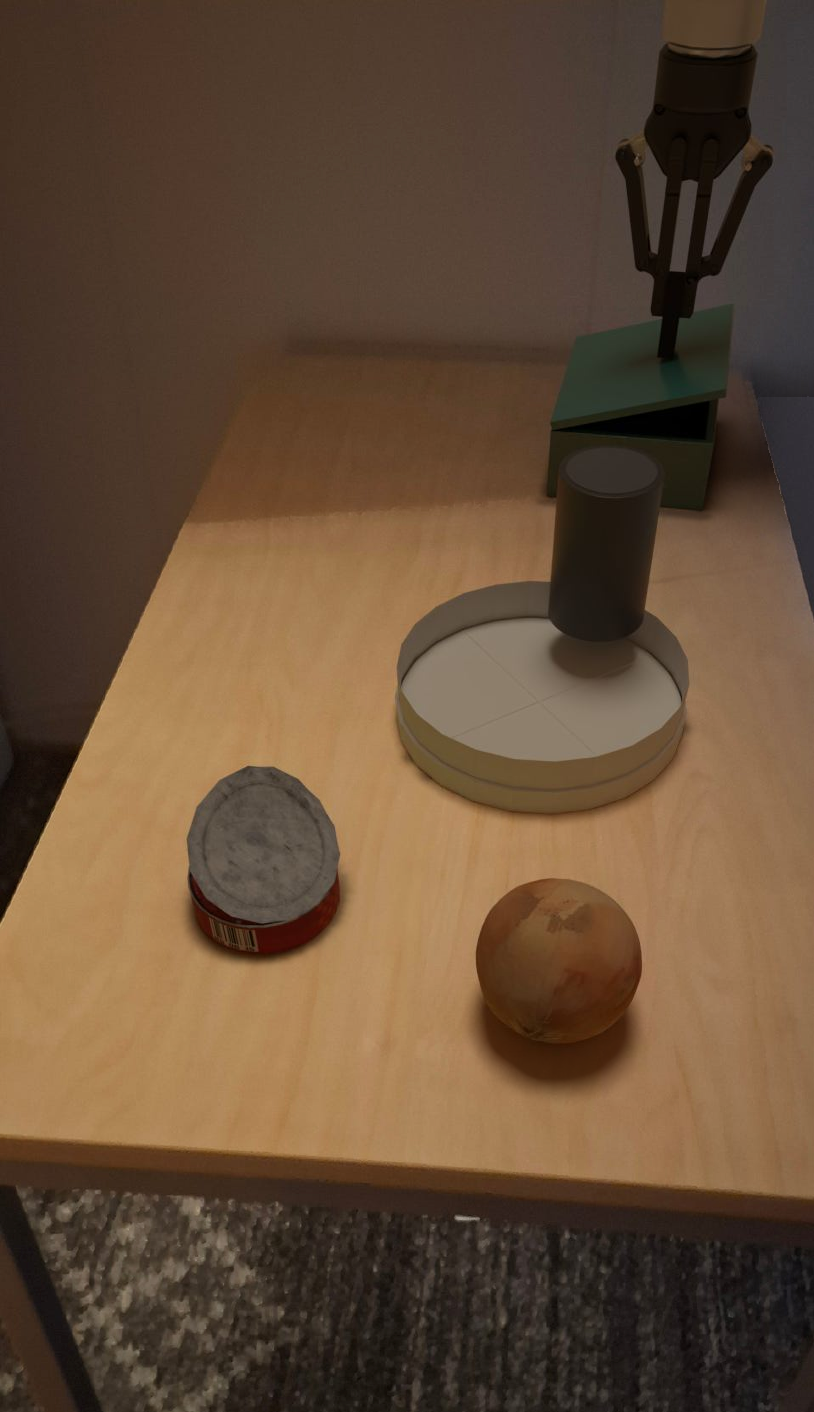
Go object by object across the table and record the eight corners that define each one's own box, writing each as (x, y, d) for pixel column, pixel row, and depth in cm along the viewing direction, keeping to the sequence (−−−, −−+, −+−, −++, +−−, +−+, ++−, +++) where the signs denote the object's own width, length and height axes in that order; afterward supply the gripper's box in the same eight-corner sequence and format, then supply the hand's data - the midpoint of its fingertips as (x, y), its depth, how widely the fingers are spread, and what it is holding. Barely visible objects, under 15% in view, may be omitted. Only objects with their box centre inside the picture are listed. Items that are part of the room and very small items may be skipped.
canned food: (326, 899, 84) (387, 810, 78) (293, 1001, 77) (356, 912, 71) (184, 829, 82) (234, 731, 76) (135, 927, 75) (186, 828, 68)
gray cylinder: (625, 580, 94) (643, 438, 85) (657, 634, 89) (680, 489, 80) (536, 594, 93) (545, 451, 84) (564, 648, 88) (577, 503, 79)
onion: (634, 954, 75) (655, 846, 67) (629, 1086, 68) (651, 983, 61) (484, 937, 76) (488, 829, 68) (464, 1065, 69) (466, 962, 62)
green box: (711, 426, 121) (723, 356, 115) (700, 518, 109) (714, 444, 103) (570, 415, 123) (576, 345, 118) (545, 504, 111) (550, 431, 106)
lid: (734, 311, 112) (733, 303, 111) (726, 397, 100) (725, 389, 100) (577, 345, 118) (575, 337, 117) (551, 430, 106) (550, 422, 105)
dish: (497, 858, 80) (499, 806, 77) (345, 688, 93) (341, 636, 90) (743, 744, 88) (756, 692, 84) (570, 601, 101) (575, 550, 97)
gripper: (796, 34, 91) (739, 339, 109) (629, 29, 93) (600, 329, 111) (796, 60, 86) (736, 375, 104) (619, 54, 88) (590, 364, 106)
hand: (666, 351), depth 107 cm, fingers closed
